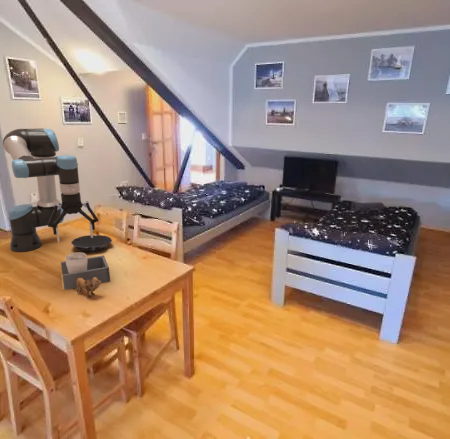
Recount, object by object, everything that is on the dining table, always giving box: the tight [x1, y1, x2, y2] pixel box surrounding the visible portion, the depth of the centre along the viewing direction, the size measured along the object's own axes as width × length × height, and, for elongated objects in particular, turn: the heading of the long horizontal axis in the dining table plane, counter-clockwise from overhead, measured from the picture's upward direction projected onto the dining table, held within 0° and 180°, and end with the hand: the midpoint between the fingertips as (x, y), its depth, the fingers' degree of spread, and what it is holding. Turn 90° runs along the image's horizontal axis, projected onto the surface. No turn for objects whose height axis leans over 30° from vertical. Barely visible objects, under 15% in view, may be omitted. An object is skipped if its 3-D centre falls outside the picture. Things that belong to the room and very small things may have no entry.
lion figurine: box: [72, 277, 102, 299], centre depth 143 cm, size 15×5×9 cm, turn 69°
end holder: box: [60, 255, 111, 291], centre depth 156 cm, size 14×20×7 cm
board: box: [71, 234, 113, 254], centre depth 190 cm, size 22×22×5 cm
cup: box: [65, 251, 88, 273], centre depth 153 cm, size 9×9×12 cm
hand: (75, 238), depth 149 cm, fingers open, 13 cm apart
